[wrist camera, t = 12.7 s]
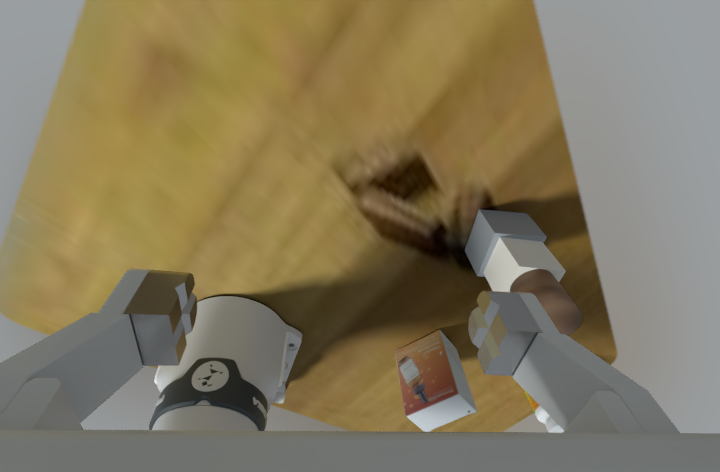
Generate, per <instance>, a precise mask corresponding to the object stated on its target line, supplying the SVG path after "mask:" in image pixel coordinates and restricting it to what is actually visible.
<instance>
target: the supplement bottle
mask: <svg viewBox="0 0 720 472" xmlns="http://www.w3.org/2000/svg"><path fill="white" fill-rule="evenodd" d="M523 390H524V389H523ZM524 392H525V394H526V396H527V398H528V401H529V403H530V405H531V407H532V409H533V411H534V413H535V415H536V417H537V419H538V420H539V421H540V422H542V423H544V424H546V428H547V430H548V432H549V433H563V432H564V430H563V429H562V428H561V427H560V426H559V425H558V424H557V423H556V422H555V421H554V420H553V419H552V418H551V417H550V415H549V414H548V413H547V412H546V411H545V410H544V409H543V408H542V407H541V406H540V405H539V404H538V403H537V402H536V401H535V400H534V399H533V398H532V397H531V396H530V395H529V394H528V393H527V392H526V391H525V390H524Z"/></svg>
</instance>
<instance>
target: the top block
mask: <svg viewBox="0 0 720 472" xmlns="http://www.w3.org/2000/svg"><path fill="white" fill-rule="evenodd" d="M534 269H544V270H547V271H549V272H551V273H552V274H553V275H554V277H555V278H556V279H557V281H558V282H560V280H561V279H562V277H563V275H564V274H565V272H566V270H565V269H564V268H563V267H562V265H561V264H560V263H559V262H558V261H557V259H556V258H555V257H554V256H553V254H552V253H551V252H550V251H549V249H548V248H547V247H546V246H545V244H544V243H543V242H541V241H532V240H523V239H514V238H505V237H499V239H498V242H497V244H496V246H495V248H494V250H493V253H492V255H491V257H490V259H489V261H488V263H487V266H486V268H485V270H484V272H483V273H484V275H485V277H486V279H487V281H488V283H489V285H490V287H491V289H492V290H493V291H499V292H510V287H511V285H512V283H513V282H514V280H515V279H516V278H517V277H519V276H520V275H521V274H523V273H525V272H527V271H530V270H534Z"/></svg>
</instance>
